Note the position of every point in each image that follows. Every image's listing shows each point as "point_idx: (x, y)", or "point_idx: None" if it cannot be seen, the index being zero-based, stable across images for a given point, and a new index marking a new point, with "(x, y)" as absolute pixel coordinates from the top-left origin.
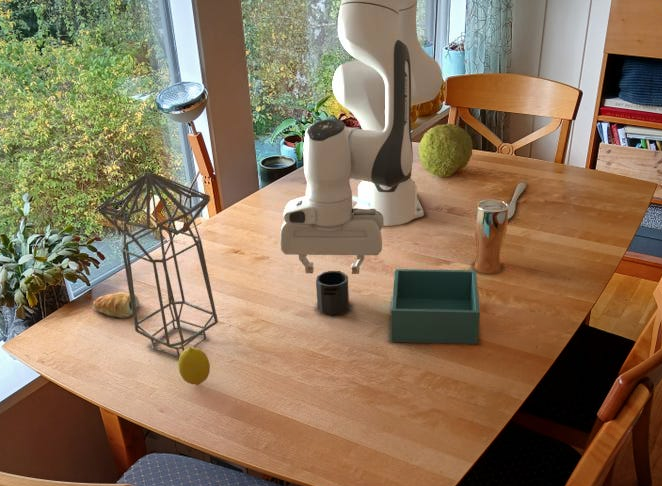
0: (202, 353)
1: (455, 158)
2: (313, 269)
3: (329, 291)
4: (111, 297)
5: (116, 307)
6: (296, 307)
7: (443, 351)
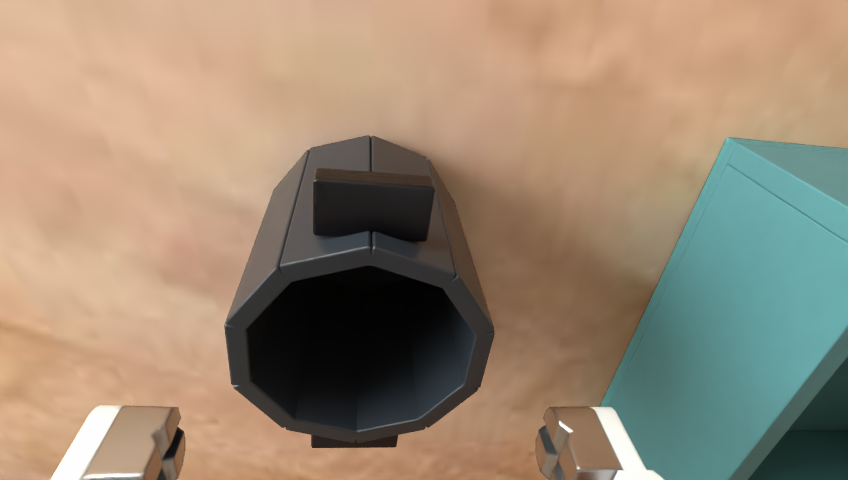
0: None
1: None
2: (173, 413)
3: (352, 444)
4: None
5: None
6: (136, 208)
7: None
